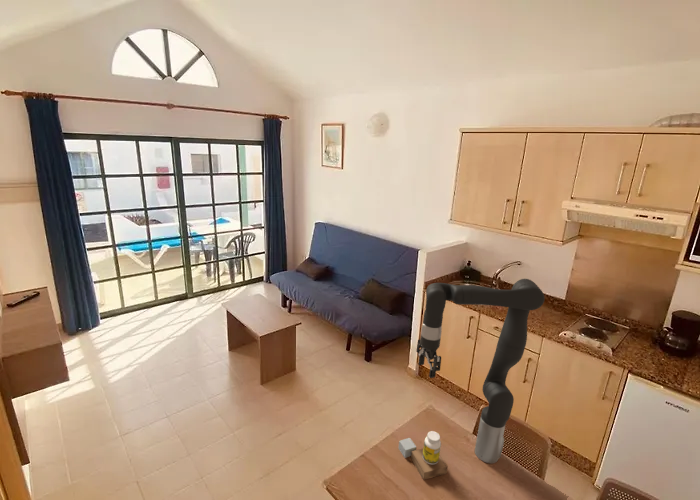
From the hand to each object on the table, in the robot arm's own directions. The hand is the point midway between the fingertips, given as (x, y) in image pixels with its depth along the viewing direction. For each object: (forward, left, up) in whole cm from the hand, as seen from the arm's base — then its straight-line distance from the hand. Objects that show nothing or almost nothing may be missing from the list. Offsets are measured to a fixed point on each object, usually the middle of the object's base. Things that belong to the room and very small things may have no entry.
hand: (426, 370), depth 143 cm
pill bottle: (+2, +13, -31) cm, 33 cm away
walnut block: (+2, +12, -34) cm, 36 cm away
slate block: (+7, +4, -34) cm, 35 cm away
